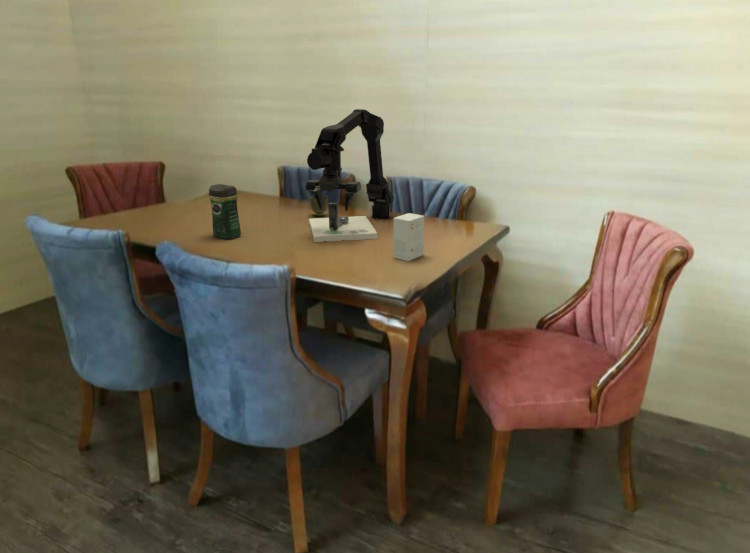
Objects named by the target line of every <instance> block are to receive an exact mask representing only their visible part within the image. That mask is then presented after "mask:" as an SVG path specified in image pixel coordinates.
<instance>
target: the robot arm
mask: <svg viewBox="0 0 750 553" xmlns="http://www.w3.org/2000/svg"><path fill="white" fill-rule="evenodd" d="M384 126H385V122H384V120H383V118H382V117H381V116H378V115H377V114H374V113H371V112H370V111H368V110H367V109H362V108H361V109H360V108H359V109H358V108H356V109H353V111H352V112H351V113H350V114H349V115H347V116H346V117H344V118H343V119H342V120H340V121H338V123H336V124H332V125H327V126H325V127H323V128H322V129H321V130H320V132H319V136H318V137H317V141H316V143H315V146H314V148H311V152H310V153H309V154H308V155H307V159H306V163H307V165H308V167H309V168H310V169H311V170H313V171H317V170H321V169H322V176H321V177H320V178H319V179H310V180H308V181H306V182H305V184H304V189H305V191H309V193H311V194H312V196H315V198H316V200H317V202H318V205H319V208H320V210H322V208H323V198H322V195H323V192H324V191H325V192H333V191H334V190H345V193H344V196H345V200H344V211H345V212H347V211H348V209H349V207H350V204H351V201H352V199H353V198H354V195H356V194H358V193H359V192H360V191H362V184H361V182H360V181H352V180H351V181H348V182H346V183H343V179H342V170H343V168H342V164H341V162H342V157H341V156H342V153H341V152H344V151H345V148H344V147H342V146H341V145H342V144H343V143H344V142H345V141H346V139H347V136H348V134H349V133H351V132H352V131H353V130H355V129H356V128H357V127H359V128H360V131H361V135H362V137H363V138H364V140H365V141H366V145H367V146H366V147H367V156H368V165H369V176H370V178H369V179H368V182H366V184H365V188H366V194H367V195H366V196H367V197H368V198H367V199H368V202H370V203H372V205H371V206H370V209H371V210H370V211H371V215H370V216H371V217H372V218H373V219H374V220H383V219H384V220H387V219H391V216H390V204H393V202H394V198H395V197H394V194H392V192H391V190H390V187H389V186H390V185H389V182H388V181H387V180H386V178H385V177H384V169H383V158H382V147H381V146H382V145H381V138H382V137H383V135H384V132H385V131H384V130H385V129H384Z"/></svg>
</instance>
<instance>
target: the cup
mask: <svg viewBox="0 0 750 553" xmlns="http://www.w3.org/2000/svg"><path fill="white" fill-rule="evenodd" d="M322 198H323V208H322V210H320V208H319V205H318V202H317V200H316V198H315V196H314V195H310V196H309V203H310V208H311V210H312V212H314V215H315V217H317V216H318V217H317V218H322V217H324V215H325V212H326V211H327V209H328V204H329V196H327V195H326V194H324V195H323V194H322Z"/></svg>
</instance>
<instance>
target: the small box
mask: <svg viewBox="0 0 750 553" xmlns="http://www.w3.org/2000/svg"><path fill="white" fill-rule="evenodd" d="M392 225H393V232H392V233H393V235H392V236H393V239H392V241H393V242H392V244H393V245H392V246H393V256H392V257H393V259H398V260H401V261H406V262H410V261H413V260H414V259H418V258H420V257H422V256H424V252H425V251H424V241H425V240H424V239H425V215H423V214H422V215H421V214H418V213H417V214H416V213H410V212H407V213H405V214H402V215H398V216H395V217H393V224H392Z"/></svg>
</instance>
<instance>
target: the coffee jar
mask: <svg viewBox="0 0 750 553" xmlns="http://www.w3.org/2000/svg"><path fill="white" fill-rule="evenodd" d="M238 196H239V195H238V190H237V188H236V186H234V185H228V184H222V183H218V184H212V185H210V186H209V189H208V197H209V198H208V199H209V201H210V206H211V216H212V235H213V236H214V237H215V238H217V239H224V240H228V239H237V238H238V237H240V236H241V235H242V232H241V229H242V228H241V225H240V224H241V223H240V217H239V212H238ZM236 237H237V238H236Z"/></svg>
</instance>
